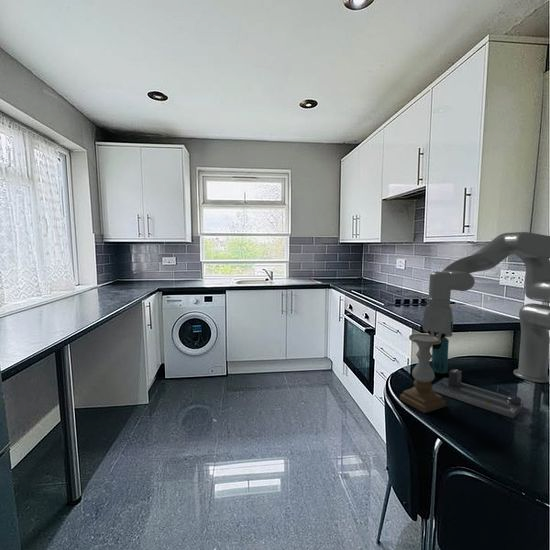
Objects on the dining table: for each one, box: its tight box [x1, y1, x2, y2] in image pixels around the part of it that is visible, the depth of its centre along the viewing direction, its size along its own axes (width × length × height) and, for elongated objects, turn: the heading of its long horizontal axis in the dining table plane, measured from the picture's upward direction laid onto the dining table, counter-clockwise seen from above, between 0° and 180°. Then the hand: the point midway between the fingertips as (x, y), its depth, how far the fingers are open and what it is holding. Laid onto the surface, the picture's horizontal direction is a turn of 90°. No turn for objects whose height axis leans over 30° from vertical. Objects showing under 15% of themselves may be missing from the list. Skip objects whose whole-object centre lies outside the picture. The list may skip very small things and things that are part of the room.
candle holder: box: [399, 333, 447, 414], centre depth 111 cm, size 11×11×24 cm
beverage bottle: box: [430, 333, 450, 374], centre depth 136 cm, size 6×7×20 cm
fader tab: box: [448, 368, 463, 388], centre depth 120 cm, size 4×3×6 cm
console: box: [431, 377, 524, 420], centre depth 115 cm, size 12×26×4 cm, turn 40°
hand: (436, 348), depth 124 cm, fingers closed
